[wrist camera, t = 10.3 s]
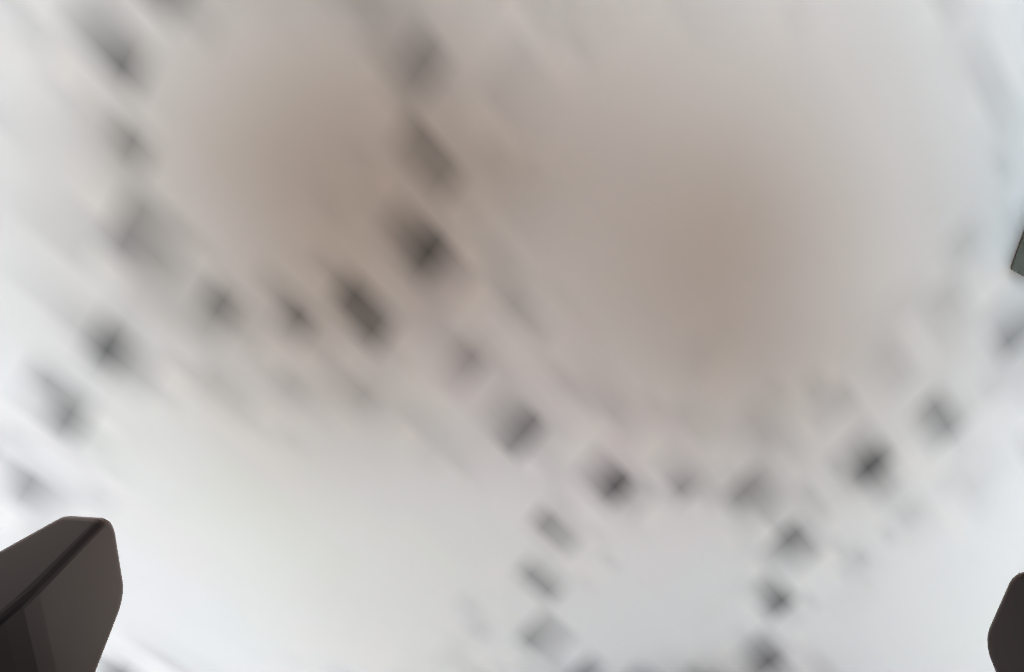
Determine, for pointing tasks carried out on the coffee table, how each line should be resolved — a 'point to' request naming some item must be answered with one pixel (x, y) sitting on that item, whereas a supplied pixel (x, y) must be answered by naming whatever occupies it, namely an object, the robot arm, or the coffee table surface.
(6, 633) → the robot arm
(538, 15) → the coffee table surface
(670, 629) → the coffee table surface
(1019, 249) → the tray
